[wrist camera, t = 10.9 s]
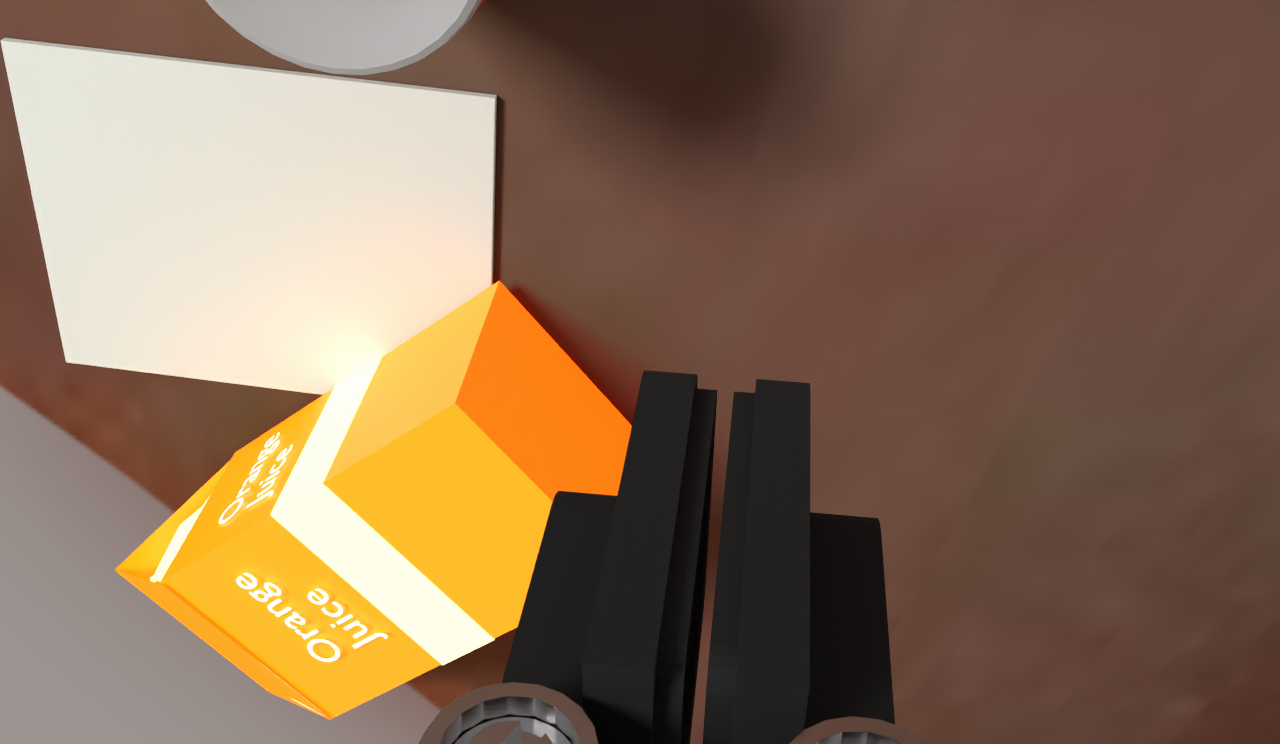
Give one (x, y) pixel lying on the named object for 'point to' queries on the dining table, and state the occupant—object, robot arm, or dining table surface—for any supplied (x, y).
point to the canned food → (348, 30)
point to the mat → (249, 211)
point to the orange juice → (389, 511)
